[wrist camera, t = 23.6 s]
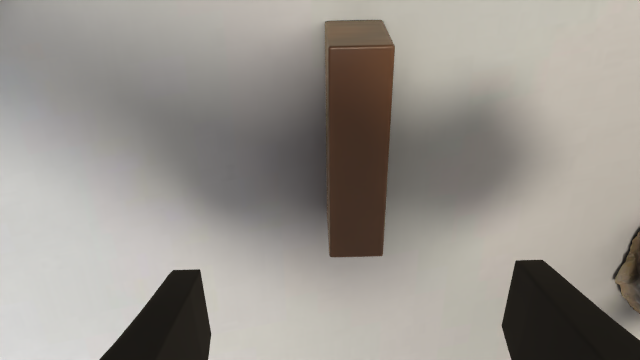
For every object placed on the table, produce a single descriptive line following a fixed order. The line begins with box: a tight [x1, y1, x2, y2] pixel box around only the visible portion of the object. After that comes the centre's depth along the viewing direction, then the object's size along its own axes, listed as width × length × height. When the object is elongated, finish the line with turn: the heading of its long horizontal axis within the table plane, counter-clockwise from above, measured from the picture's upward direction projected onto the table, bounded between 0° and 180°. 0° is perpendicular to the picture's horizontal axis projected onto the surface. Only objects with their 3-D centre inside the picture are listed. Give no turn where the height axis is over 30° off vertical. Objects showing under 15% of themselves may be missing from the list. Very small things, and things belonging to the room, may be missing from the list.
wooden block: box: [325, 20, 395, 257], centre depth 19 cm, size 2×8×3 cm, turn 1°
